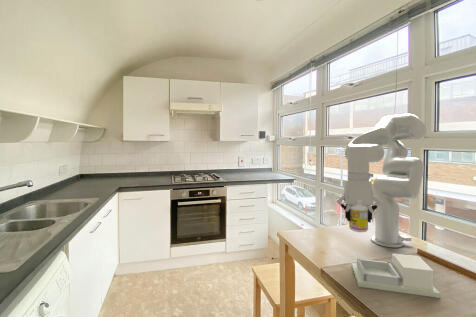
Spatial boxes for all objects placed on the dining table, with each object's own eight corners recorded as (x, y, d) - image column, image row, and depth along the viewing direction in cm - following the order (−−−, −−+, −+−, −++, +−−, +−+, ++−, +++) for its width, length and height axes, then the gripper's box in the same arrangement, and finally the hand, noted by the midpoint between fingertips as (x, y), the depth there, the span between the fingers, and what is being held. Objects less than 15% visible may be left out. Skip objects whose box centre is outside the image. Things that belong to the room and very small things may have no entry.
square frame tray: (419, 274, 82) (419, 254, 82) (439, 297, 70) (440, 273, 70) (351, 266, 89) (351, 247, 88) (358, 286, 76) (359, 264, 76)
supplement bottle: (346, 227, 96) (345, 196, 95) (361, 226, 97) (361, 195, 96) (355, 233, 89) (355, 200, 88) (371, 232, 90) (371, 199, 89)
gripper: (380, 175, 93) (380, 219, 94) (333, 175, 98) (334, 216, 99) (386, 178, 85) (386, 225, 87) (335, 178, 90) (336, 222, 92)
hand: (358, 220), depth 93 cm, fingers closed on supplement bottle, 6 cm apart
